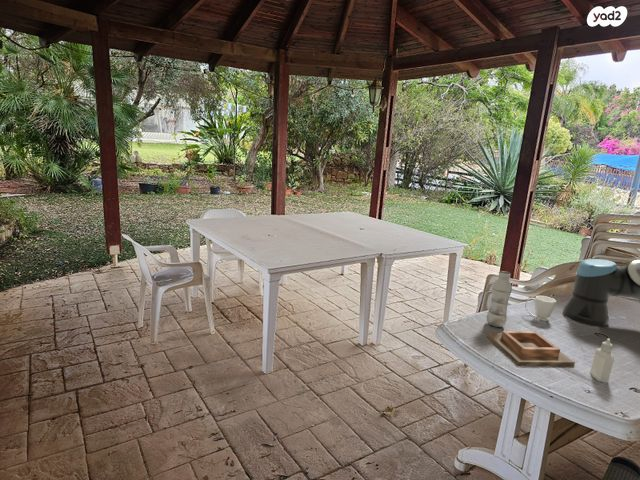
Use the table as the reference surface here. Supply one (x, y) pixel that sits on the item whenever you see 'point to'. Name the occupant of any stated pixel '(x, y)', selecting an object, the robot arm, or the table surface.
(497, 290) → the plastic bottle
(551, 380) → the table surface
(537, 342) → the collar board
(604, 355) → the eye dropper bottle
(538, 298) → the cup
